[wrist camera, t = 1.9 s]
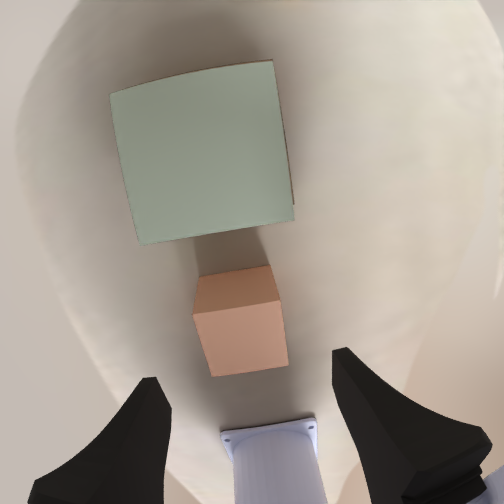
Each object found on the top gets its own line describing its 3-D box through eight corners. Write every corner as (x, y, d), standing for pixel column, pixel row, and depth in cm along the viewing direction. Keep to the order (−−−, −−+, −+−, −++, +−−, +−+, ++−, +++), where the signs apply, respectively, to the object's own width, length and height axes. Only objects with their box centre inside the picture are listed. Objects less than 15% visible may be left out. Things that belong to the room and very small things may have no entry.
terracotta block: (278, 322, 19) (288, 365, 15) (214, 332, 19) (212, 377, 15) (269, 264, 17) (280, 300, 14) (199, 276, 17) (192, 314, 14)
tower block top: (280, 201, 13) (294, 220, 11) (157, 222, 13) (139, 246, 11) (263, 77, 11) (272, 60, 9) (134, 101, 11) (108, 93, 8)
